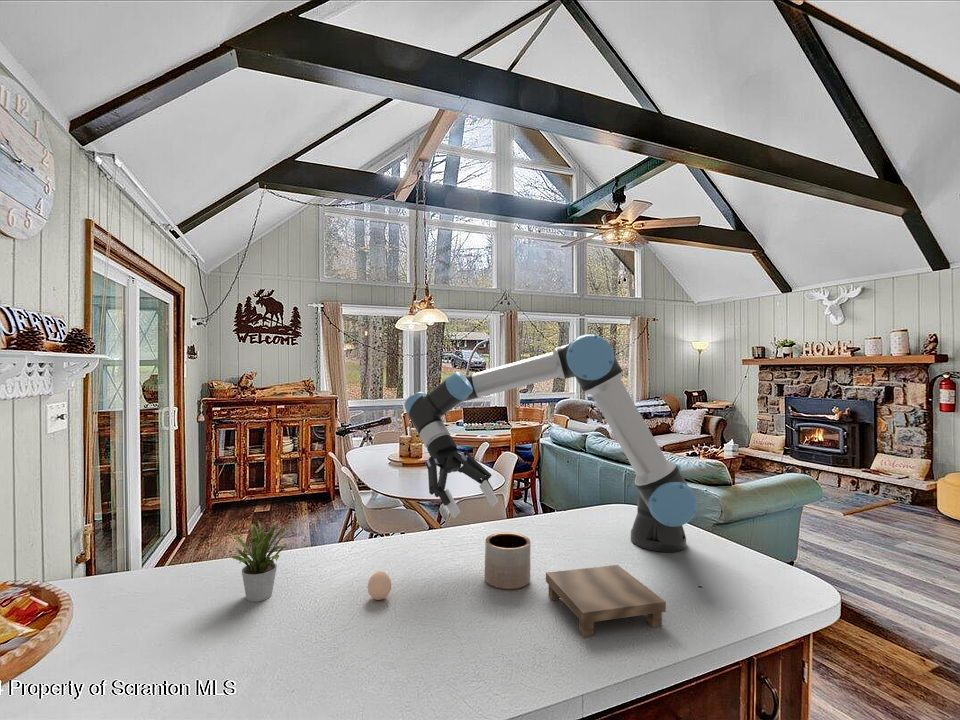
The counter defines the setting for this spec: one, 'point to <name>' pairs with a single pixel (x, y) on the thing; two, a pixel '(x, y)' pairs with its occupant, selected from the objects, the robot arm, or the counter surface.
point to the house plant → (259, 563)
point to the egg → (379, 585)
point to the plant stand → (604, 596)
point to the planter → (507, 560)
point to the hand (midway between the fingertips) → (476, 509)
